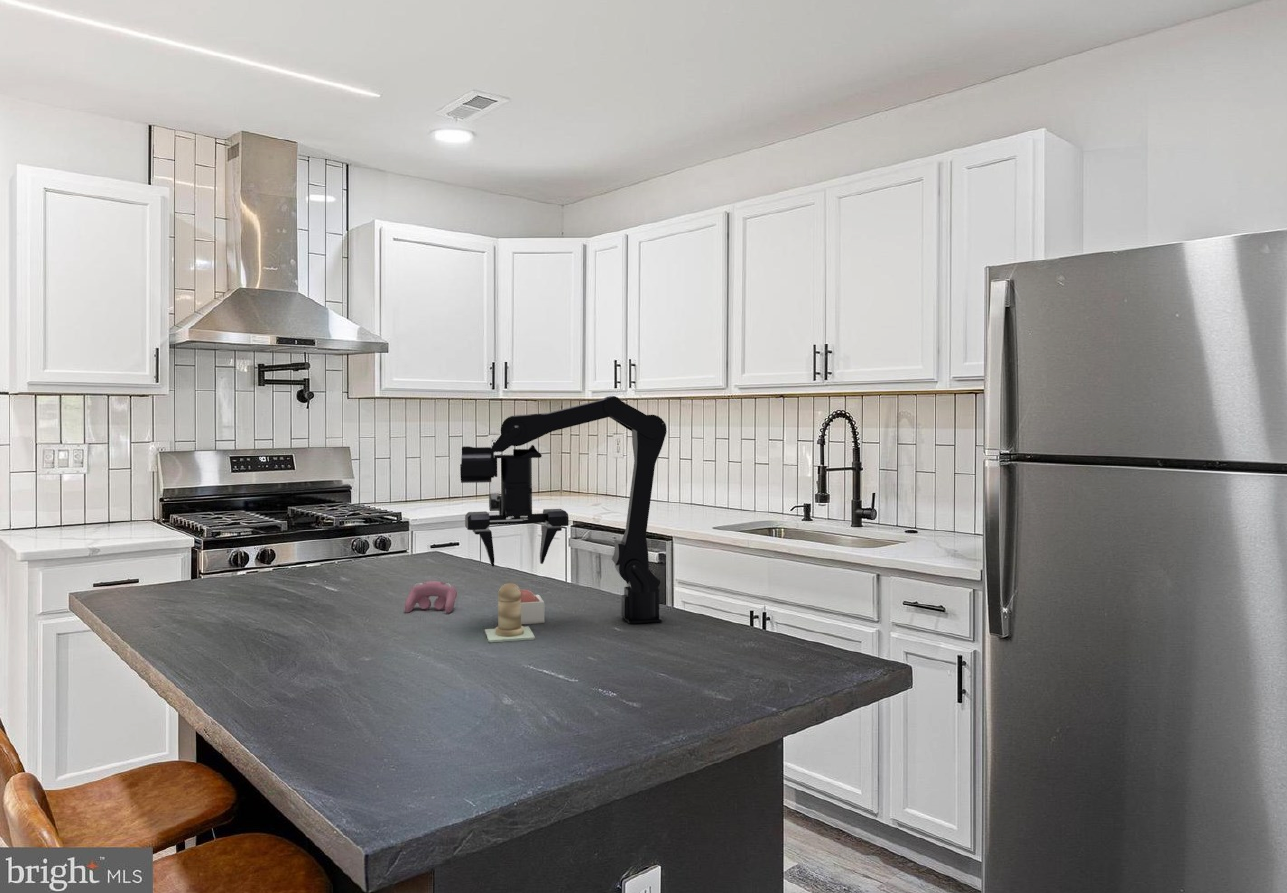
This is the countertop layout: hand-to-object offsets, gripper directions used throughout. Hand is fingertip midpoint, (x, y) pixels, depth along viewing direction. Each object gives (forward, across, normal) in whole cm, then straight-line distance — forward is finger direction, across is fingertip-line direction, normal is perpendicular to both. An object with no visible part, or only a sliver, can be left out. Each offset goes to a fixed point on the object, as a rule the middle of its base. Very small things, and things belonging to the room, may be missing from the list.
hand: (517, 564), depth 160 cm
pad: (+11, +3, +8) cm, 14 cm away
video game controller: (+12, +15, -17) cm, 25 cm away
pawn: (+11, +3, +8) cm, 14 cm away
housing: (+11, -2, -3) cm, 12 cm away
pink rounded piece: (+11, -2, -3) cm, 11 cm away
